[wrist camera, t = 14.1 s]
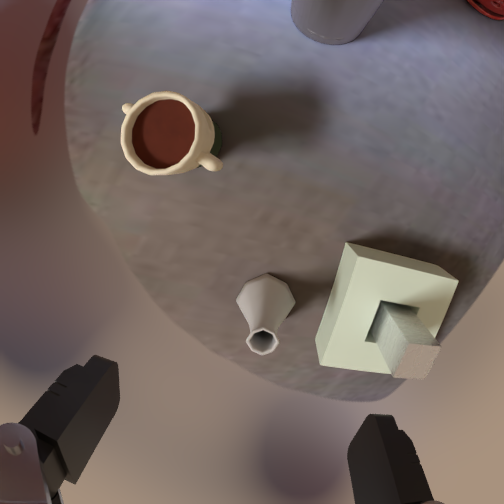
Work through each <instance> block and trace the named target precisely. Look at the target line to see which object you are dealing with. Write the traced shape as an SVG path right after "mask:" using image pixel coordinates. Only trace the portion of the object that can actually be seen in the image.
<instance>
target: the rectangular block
mask: <svg viewBox="0 0 504 504" xmlns="http://www.w3.org/2000/svg"><path fill="white" fill-rule="evenodd" d="M369 330H370V332H371V334H372V336H373V338H374V340H375V342H376V344H377V346H378V348H379V350H380V352H381V354H382V356H383V358H384V360H385V362H386V364H387V366H388V368H389V370H390V372H391V374H392V376H393V377H395V378H411V379H425V378H426V376H427V374H428V372H429V371H430V369H431V367H432V365H433V363H434V361H435V359H436V357H437V355H438V353H439V351H440V348H441V345H440V344H439V343H438V342H437V340H436V339H435V338H434V337H433V335H432V334H431V333H430V331H429V330H428V329H427V328H426V326H425V325H424V324H423V323H422V322H421V320H420V319H419V318H418V317H417V315H416V314H415V313H414V312H413V311H412V309H411V308H410V307H409V306H408V305H404V304H399V303H394V302H388V301H383V300H380V303H379V306H378V308H377V311H376V314H375V316H374V319H373V321H372V324H371V326H370V329H369Z"/></svg>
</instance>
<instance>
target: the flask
mask: <svg viewBox="0 0 504 504" xmlns="http://www.w3.org/2000/svg"><path fill="white" fill-rule="evenodd" d="M236 302H237V303H238V305H239V307H240V309H241V311H242V313H243V314H244V316H245V318H246V320H247V321H248V323H249V327H250V334H249V336H248V338H247V339H246V342H247V344H248V345H249V347H250V349H251V351H254V352H256V353H258V354H260V355H265V354H268V353H271V352H274V350H275V349H276V347H277V346H278V344H279V343H280V340H279V338H278V336H277V331H278V328H279V326H280V325H281V324H282V322H283V321H284V320H285V318H286V317H287V315H288V314H289V312H290V311H291V309H292V308H293V306H294V304H295V303H296V302H295V300H294V298H293V295H292V293H291V291H290V289H289V287H288V285H287V283H285V282H283V281H281V280H279V279H277V278H275V277H273V276H271V275H269V274H267V273H266V274H264V275H261V276H259V277H257V278H254V279H252V280H250V281H247V282H246V283H245V285H244V286H243V288H242V290H241V292H240V293H239V295H238V297H237V299H236Z"/></svg>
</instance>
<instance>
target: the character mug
mask: <svg viewBox="0 0 504 504" xmlns="http://www.w3.org/2000/svg"><path fill="white" fill-rule="evenodd" d="M122 110H123V112H124V113H125V114H126V117H125V119H124V122H123V124H122V127H121V145H122V148H123V151H124V154H125V157H126V159H127V160H128V161H129V162H130V163H131V164H132V165H133V166H134V168H135V169H137V170H139V171H142V172H144V173H146V174H149V175H171V174H178V173H185V172H187V171H190V170H192V169H194V168H198V167H201V166H204V167H205V168H206V169H208V170H210V171H219V170H221V169H222V168H223V163H222V162H221V160H219V159H218V158H217V155H218V153H219V151H220V148H221V146H222V133H221V131H220V129H219V127H218V125H217V123H215V122H213V121H212V120H211V118H210V116H209V115H208V114H207V113H206V112H205V110H203V109H202V108H201V107H200V106H199V105H197V104H196V103H194V102H192V101H191V100H189V99H188V98H187V97H185V96H183V95H181V94H179V93H176V92H171V91H162V92H155V93H151V94H149V95H148V96H146V97H144V98H142V99H140V100H138V101H137V103H136V104H135V105H134V104H131V103H126V104H124V105H123V106H122Z"/></svg>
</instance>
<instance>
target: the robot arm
mask: <svg viewBox="0 0 504 504" xmlns="http://www.w3.org/2000/svg"><path fill="white" fill-rule="evenodd" d="M382 2H383V0H292V3H291V16H292V19H293V22H294V23H295V25H296V27H297V28H298V29H299V30H300V31H301V32H302V33H303V34H304V35H306V36H307V37H309V38H311V39H313V40H314V41H317V42H320V43H324V44H329V45H339V44H345V43H348V42H350V41H352V40H354V39H355V38H356V37H357V36H358V35H359V34H360V33H361V31H362V30H363V29H364V27H365V26H366V24H367V23H368V22H369V20H370V19H371V17H372V16H373V15H374V13H375V12H376V10H377V9H378V7H379V6H380V5H381V3H382ZM119 401H120V390H119V372H118V364H117V362H114V361H111V360H109V359H106V358H103V357H100V356H97V355H94V356H93V357H91V359H90V360H89V361H88V362H87V363H86V364H85V366H84V367H83V366H80V365H78V364H76V365H74V366H72V367H70V368H69V369H67V370H64V371H63V372H62V373H61V375H60V376H59V377H58V378H57V379H56V380H55V383H53V384H52V385H51V386H50V387H49V388H48V391H46V392H45V393H44V394H43V395H42V396H41V397H40V399H39V400H38V401H37V402H36V403H35V405H34V406H33V407H32V408H31V409H30V410H29V412H28V413H27V414H26V415H25V417H24V418H23V419H22V420H21V421H20V422H19V423H5V424H2V425H0V504H64V503H63V499H62V495H61V492H60V489H59V488H60V486H61V484H62V482H63V481H64V479H65V480H67V481H69V482H71V483H73V484H76V482H77V481H78V479H79V477H80V475H81V473H82V471H83V470H84V468H85V466H86V464H87V463H88V460H89V459H90V457H91V455H92V454H93V452H94V450H95V448H96V446H97V445H98V443H99V441H100V439H101V438H102V436H103V434H104V432H105V431H106V429H107V427H108V425H109V424H110V422H111V420H112V418H113V417H114V415H115V413H116V411H117V409H118V405H119ZM347 459H348V465H349V471H350V476H351V481H352V488H353V493H354V499H355V504H444V503H442V502H439V501H434V499H433V497H432V494H431V491H430V488H429V485H428V482H427V480H426V477H425V474H424V471H423V469H422V466H421V464H420V460H419V458H418V455H416V450H415V447H414V445H413V442H412V440H411V439H410V438H409V437H408V436H407V434H406V433H405V432H404V431H403V430H398V427H397V425H396V422H395V419H394V417H393V416H392V415H381V414H369V415H368V416H367V417H366V419H365V421H364V422H363V424H362V425H361V427H360V429H359V430H358V432H357V433H356V435H355V436H354V438H353V440H352V441H351V443H350V445H349V448H348V453H347Z"/></svg>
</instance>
